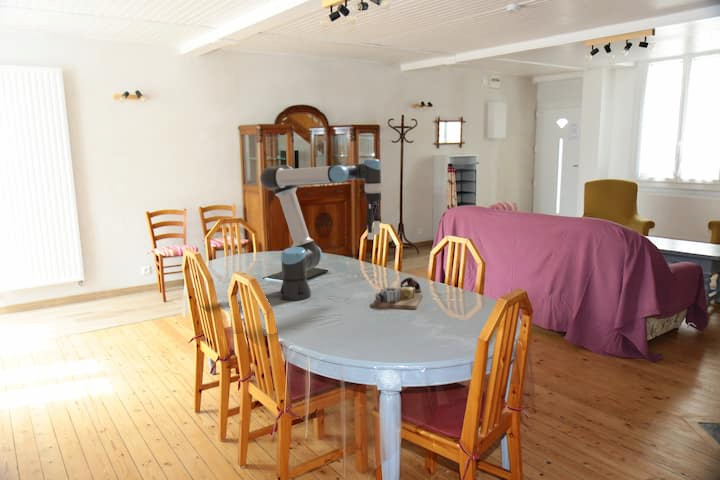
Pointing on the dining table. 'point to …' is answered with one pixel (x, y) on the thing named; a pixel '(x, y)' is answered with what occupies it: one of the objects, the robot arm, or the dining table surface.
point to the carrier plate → (407, 299)
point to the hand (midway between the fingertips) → (373, 236)
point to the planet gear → (390, 295)
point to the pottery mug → (411, 283)
